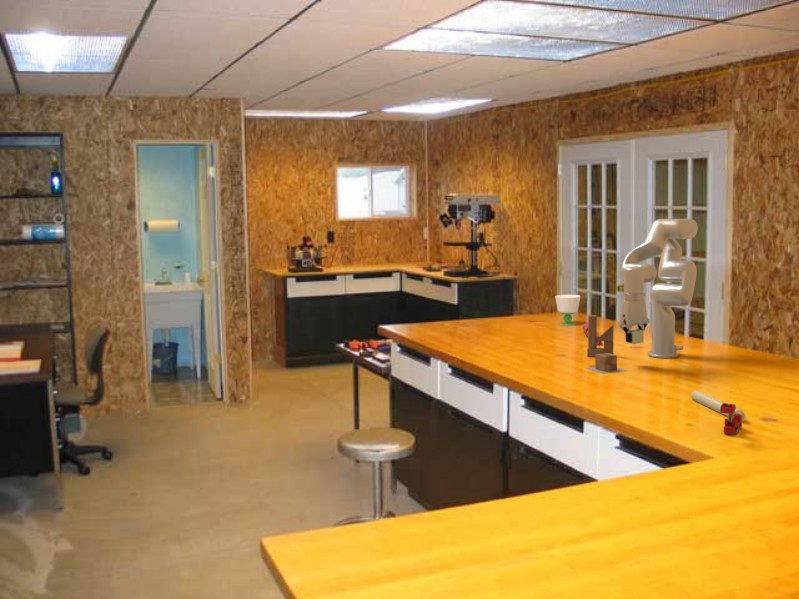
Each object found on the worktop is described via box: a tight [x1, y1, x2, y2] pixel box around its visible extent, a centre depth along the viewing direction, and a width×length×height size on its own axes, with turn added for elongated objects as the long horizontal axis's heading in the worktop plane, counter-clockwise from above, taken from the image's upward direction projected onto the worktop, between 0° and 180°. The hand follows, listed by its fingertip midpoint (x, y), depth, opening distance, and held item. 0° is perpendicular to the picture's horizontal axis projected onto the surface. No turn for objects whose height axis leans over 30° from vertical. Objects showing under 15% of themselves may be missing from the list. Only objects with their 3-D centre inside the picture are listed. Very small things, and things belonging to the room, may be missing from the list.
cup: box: [554, 294, 581, 327], centre depth 454 cm, size 14×14×16 cm
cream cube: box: [627, 328, 644, 345], centre depth 337 cm, size 5×5×5 cm
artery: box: [582, 322, 603, 346], centre depth 410 cm, size 42×5×5 cm, turn 173°
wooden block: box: [586, 314, 614, 358], centre depth 362 cm, size 4×11×18 cm, turn 67°
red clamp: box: [720, 402, 743, 435], centre depth 242 cm, size 3×14×10 cm, turn 145°
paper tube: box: [690, 389, 747, 422], centre depth 268 cm, size 4×30×4 cm, turn 7°
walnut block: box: [594, 353, 618, 372], centre depth 331 cm, size 6×6×6 cm
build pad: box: [584, 366, 628, 375], centre depth 332 cm, size 12×12×1 cm
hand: (634, 340), depth 338 cm, fingers closed on cream cube, 5 cm apart
